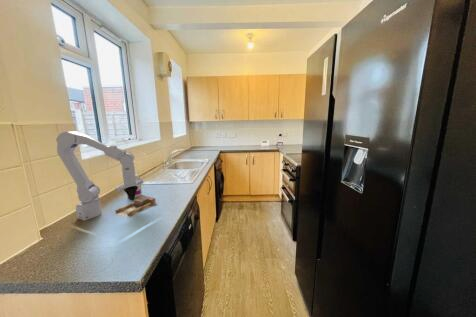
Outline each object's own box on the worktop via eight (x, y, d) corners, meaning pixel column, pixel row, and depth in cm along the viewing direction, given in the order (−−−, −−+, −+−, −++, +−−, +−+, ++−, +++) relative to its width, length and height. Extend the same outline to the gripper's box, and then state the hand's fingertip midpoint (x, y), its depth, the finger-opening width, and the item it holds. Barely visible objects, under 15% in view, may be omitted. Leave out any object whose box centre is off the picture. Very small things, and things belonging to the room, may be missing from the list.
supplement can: (137, 200, 120) (135, 177, 117) (124, 200, 120) (121, 177, 117) (144, 195, 128) (142, 173, 125) (132, 195, 128) (129, 173, 125)
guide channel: (129, 219, 96) (128, 211, 95) (112, 214, 101) (111, 207, 100) (157, 205, 112) (156, 198, 111) (141, 201, 117) (140, 195, 117)
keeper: (141, 207, 107) (141, 201, 106) (134, 205, 109) (133, 200, 108) (149, 204, 111) (148, 198, 111) (141, 202, 114) (141, 197, 113)
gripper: (121, 180, 94) (124, 206, 96) (146, 173, 107) (148, 196, 109) (111, 178, 96) (115, 204, 99) (137, 171, 109) (139, 194, 112)
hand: (132, 199), depth 104 cm, fingers closed
